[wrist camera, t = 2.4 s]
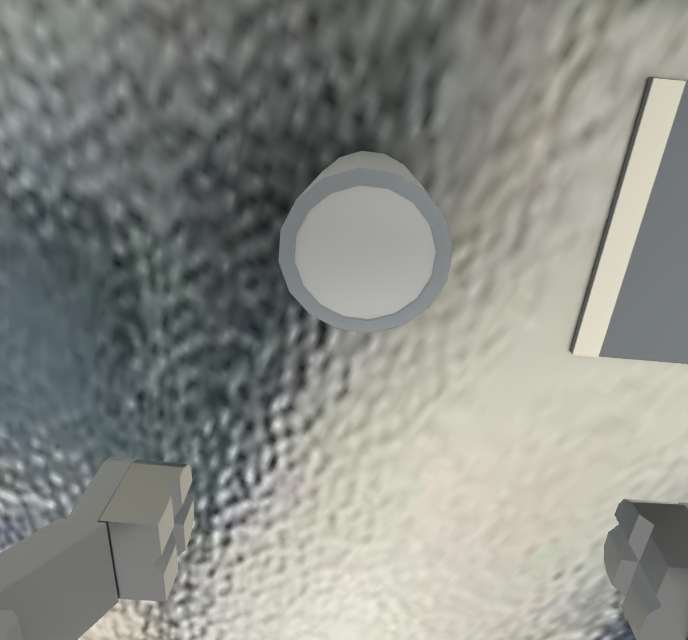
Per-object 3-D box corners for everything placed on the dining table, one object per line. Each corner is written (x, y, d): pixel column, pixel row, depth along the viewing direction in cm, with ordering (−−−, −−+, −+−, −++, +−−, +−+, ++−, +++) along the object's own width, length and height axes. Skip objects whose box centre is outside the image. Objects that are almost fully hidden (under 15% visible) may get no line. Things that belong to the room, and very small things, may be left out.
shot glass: (372, 296, 31) (372, 363, 25) (270, 215, 29) (242, 265, 23) (464, 200, 28) (490, 248, 22) (358, 105, 26) (354, 127, 20)
